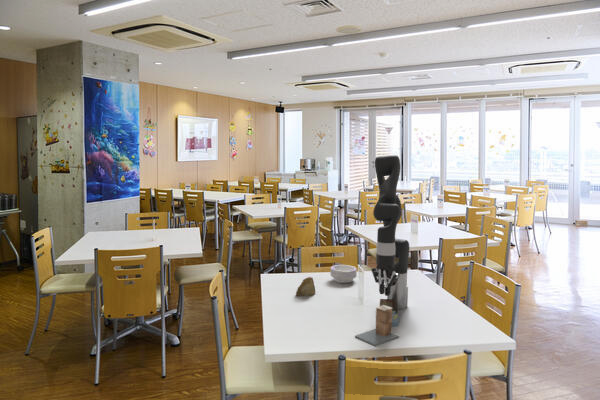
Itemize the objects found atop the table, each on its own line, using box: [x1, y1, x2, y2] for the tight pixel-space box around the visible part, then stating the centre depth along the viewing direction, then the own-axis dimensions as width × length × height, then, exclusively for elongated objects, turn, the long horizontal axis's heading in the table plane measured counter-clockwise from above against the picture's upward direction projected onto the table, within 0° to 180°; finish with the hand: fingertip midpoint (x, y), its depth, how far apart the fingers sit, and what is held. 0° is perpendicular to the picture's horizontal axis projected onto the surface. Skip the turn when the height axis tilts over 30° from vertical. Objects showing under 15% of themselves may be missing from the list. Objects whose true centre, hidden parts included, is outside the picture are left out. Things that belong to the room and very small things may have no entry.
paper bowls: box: [330, 264, 358, 284], centre depth 266 cm, size 15×15×8 cm
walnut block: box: [375, 305, 393, 336], centre depth 187 cm, size 4×4×11 cm
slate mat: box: [354, 328, 400, 347], centre depth 185 cm, size 14×11×1 cm
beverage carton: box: [379, 298, 400, 327], centre depth 206 cm, size 8×19×7 cm, turn 171°
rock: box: [295, 276, 316, 297], centre depth 240 cm, size 11×9×10 cm
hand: (384, 294), depth 185 cm, fingers closed
